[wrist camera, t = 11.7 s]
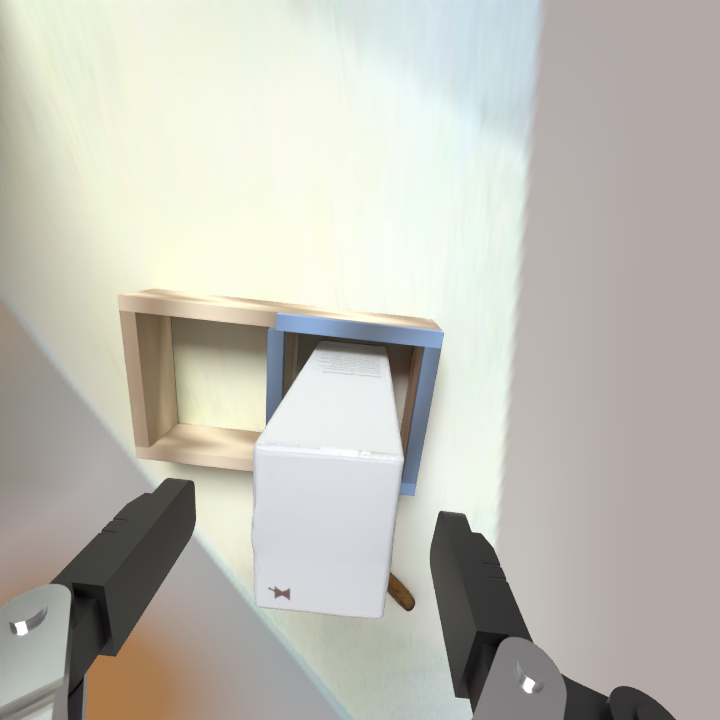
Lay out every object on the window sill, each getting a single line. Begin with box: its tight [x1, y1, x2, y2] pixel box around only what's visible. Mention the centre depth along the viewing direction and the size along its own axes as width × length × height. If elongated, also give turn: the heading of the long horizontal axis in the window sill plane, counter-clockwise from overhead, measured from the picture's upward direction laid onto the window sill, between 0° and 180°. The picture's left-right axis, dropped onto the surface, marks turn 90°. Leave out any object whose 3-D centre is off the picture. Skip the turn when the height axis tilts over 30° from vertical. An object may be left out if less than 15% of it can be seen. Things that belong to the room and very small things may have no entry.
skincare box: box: [252, 341, 404, 619], centre depth 15 cm, size 6×4×12 cm
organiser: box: [118, 289, 444, 496], centre depth 19 cm, size 16×10×4 cm, turn 84°
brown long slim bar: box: [387, 573, 415, 611], centre depth 25 cm, size 9×2×1 cm, turn 30°
